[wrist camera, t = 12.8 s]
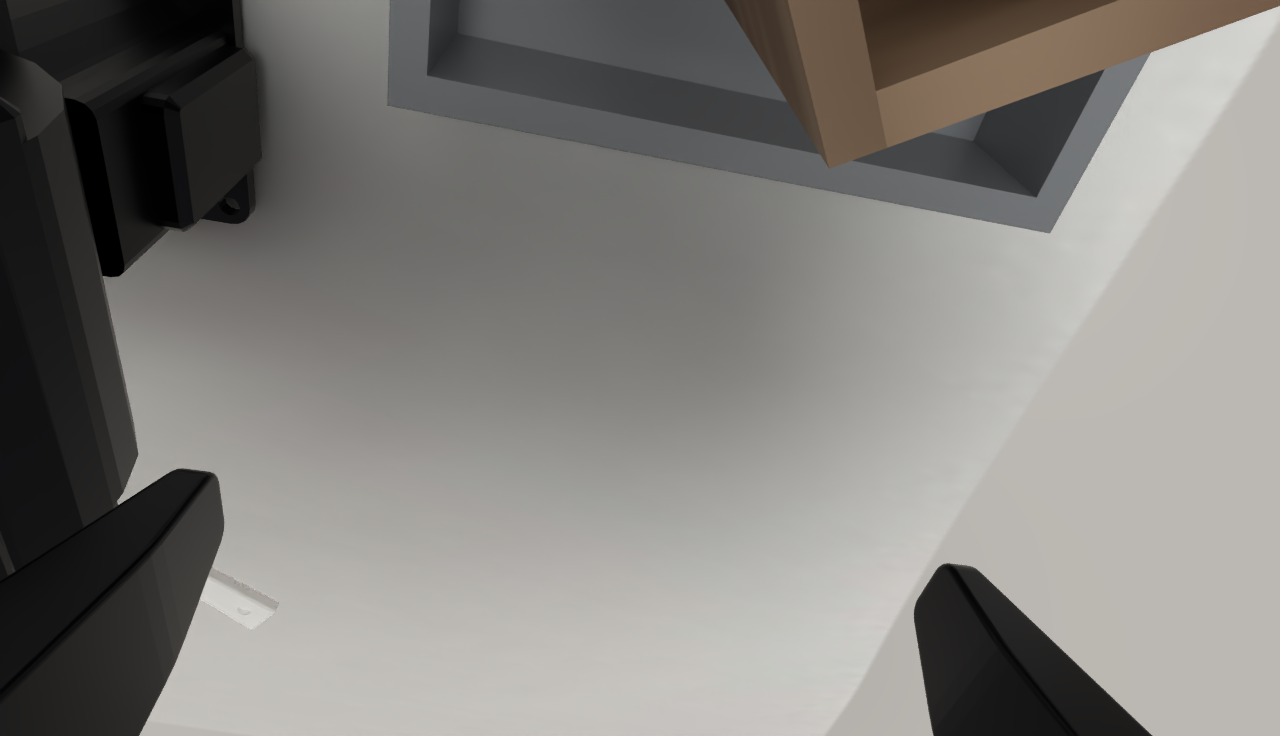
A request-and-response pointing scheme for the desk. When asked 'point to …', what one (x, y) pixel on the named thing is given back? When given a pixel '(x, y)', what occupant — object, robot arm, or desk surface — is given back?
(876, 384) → the desk surface
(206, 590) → the white angle bracket
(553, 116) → the tray
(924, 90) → the walnut crate
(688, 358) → the desk surface
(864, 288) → the desk surface
